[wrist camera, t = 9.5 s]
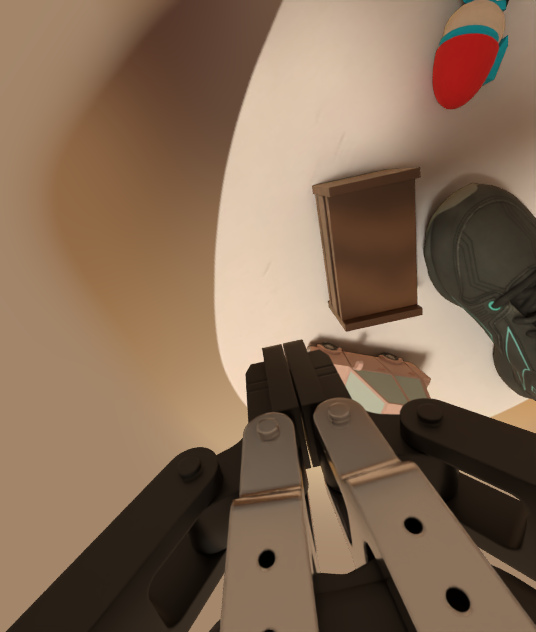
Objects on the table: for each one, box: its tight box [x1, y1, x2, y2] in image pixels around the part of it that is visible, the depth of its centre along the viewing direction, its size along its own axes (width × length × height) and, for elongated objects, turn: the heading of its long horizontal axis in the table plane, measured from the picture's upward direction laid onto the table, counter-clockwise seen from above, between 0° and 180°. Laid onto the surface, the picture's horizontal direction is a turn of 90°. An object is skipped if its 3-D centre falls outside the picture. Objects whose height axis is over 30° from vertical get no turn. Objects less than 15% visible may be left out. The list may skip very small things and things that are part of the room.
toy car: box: [307, 343, 431, 414], centre depth 39 cm, size 9×15×10 cm, turn 77°
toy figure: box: [433, 0, 509, 109], centre depth 28 cm, size 8×5×15 cm
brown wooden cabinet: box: [312, 167, 422, 332], centre depth 34 cm, size 14×8×7 cm, turn 12°
